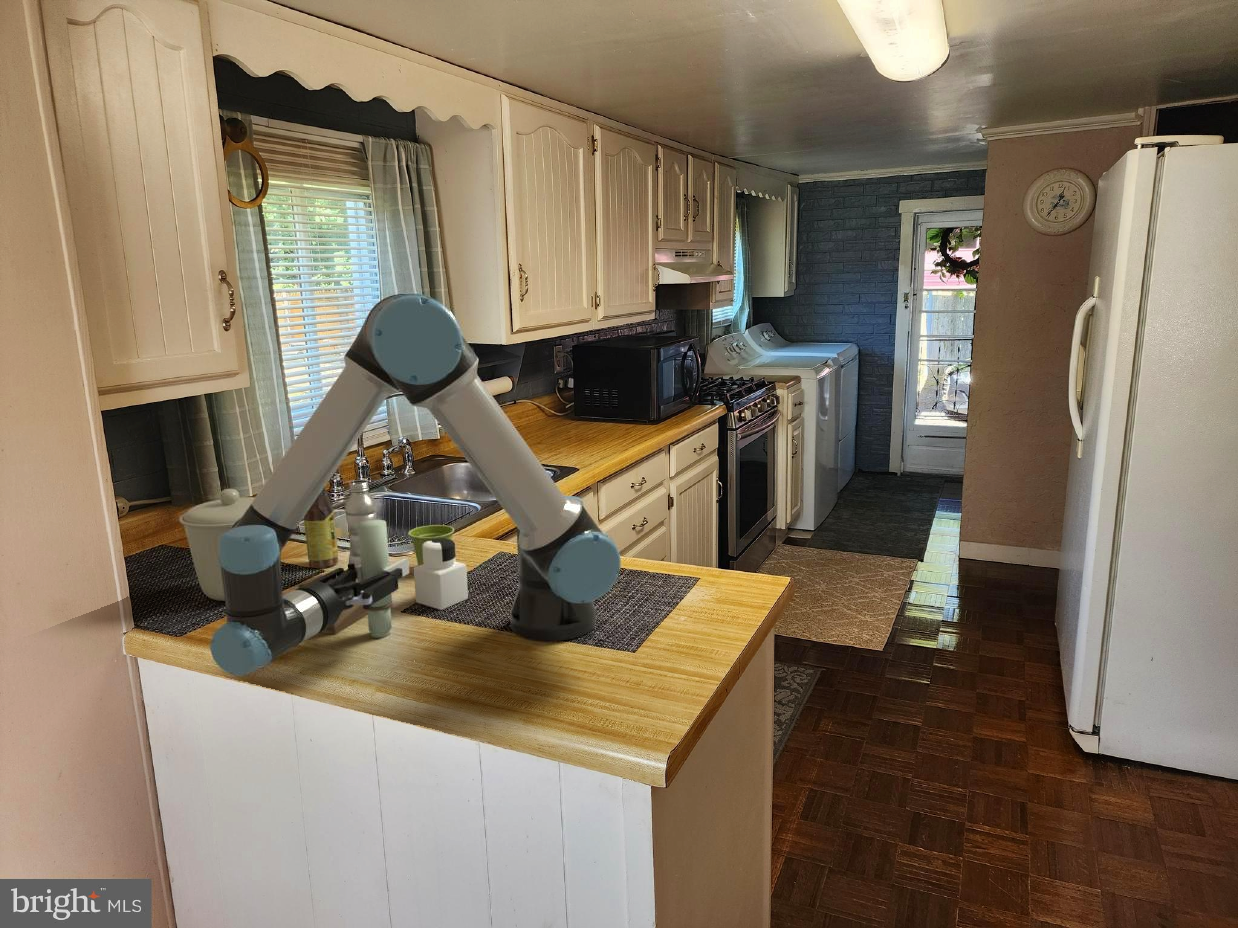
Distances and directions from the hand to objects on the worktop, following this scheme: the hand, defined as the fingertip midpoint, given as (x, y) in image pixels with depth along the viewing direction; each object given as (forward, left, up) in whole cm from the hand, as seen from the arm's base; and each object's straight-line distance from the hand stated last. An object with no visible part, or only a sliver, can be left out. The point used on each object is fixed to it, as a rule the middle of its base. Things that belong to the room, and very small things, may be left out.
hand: (393, 564), depth 149 cm
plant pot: (+9, -27, -11) cm, 30 cm away
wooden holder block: (+14, +1, -11) cm, 18 cm away
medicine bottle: (-2, -12, -11) cm, 16 cm away
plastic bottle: (+21, -20, -11) cm, 31 cm away
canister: (+39, -4, -11) cm, 41 cm away
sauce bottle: (+34, -23, -11) cm, 42 cm away
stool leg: (0, +5, -11) cm, 12 cm away
